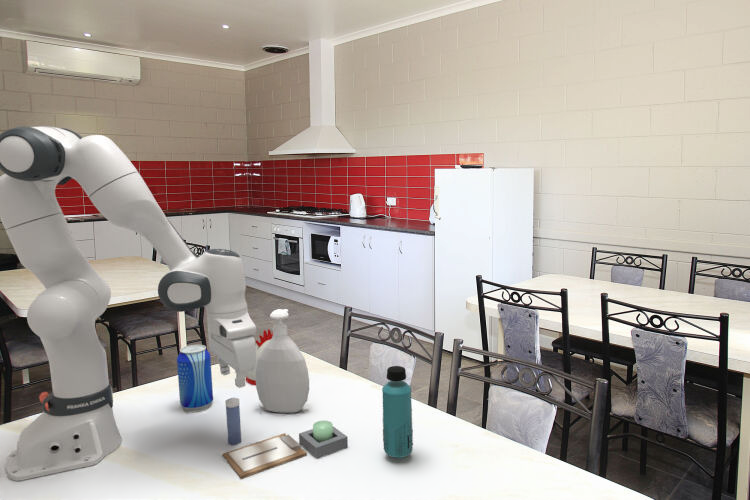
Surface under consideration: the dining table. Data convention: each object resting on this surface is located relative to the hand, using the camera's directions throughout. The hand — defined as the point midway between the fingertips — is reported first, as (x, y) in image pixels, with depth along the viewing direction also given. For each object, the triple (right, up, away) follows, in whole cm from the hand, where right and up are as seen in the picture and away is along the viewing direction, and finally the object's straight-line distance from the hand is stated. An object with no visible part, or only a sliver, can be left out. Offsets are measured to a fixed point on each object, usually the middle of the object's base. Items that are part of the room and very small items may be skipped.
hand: (232, 380), depth 120 cm
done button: (+21, -14, -1) cm, 25 cm away
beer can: (-15, -13, +22) cm, 29 cm away
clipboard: (+8, -16, -4) cm, 18 cm away
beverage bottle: (+37, -15, -6) cm, 41 cm away
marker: (0, -15, +2) cm, 15 cm away
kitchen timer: (0, -10, +41) cm, 42 cm away
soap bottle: (+9, -12, +19) cm, 24 cm away
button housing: (+21, -15, 0) cm, 25 cm away
